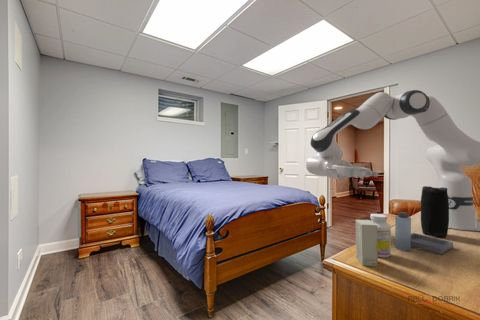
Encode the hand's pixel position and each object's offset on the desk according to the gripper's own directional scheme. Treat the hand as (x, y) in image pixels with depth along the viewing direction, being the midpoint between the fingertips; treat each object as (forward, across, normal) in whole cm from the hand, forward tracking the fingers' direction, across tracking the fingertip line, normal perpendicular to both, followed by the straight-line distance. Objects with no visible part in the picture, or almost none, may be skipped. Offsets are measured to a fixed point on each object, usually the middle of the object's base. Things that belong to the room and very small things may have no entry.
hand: (371, 174), depth 87 cm
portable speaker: (+15, +27, +22) cm, 39 cm away
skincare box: (+11, -20, +26) cm, 35 cm away
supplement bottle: (+10, -11, +26) cm, 30 cm away
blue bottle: (+13, +1, +24) cm, 28 cm away
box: (+17, +10, +23) cm, 30 cm away
